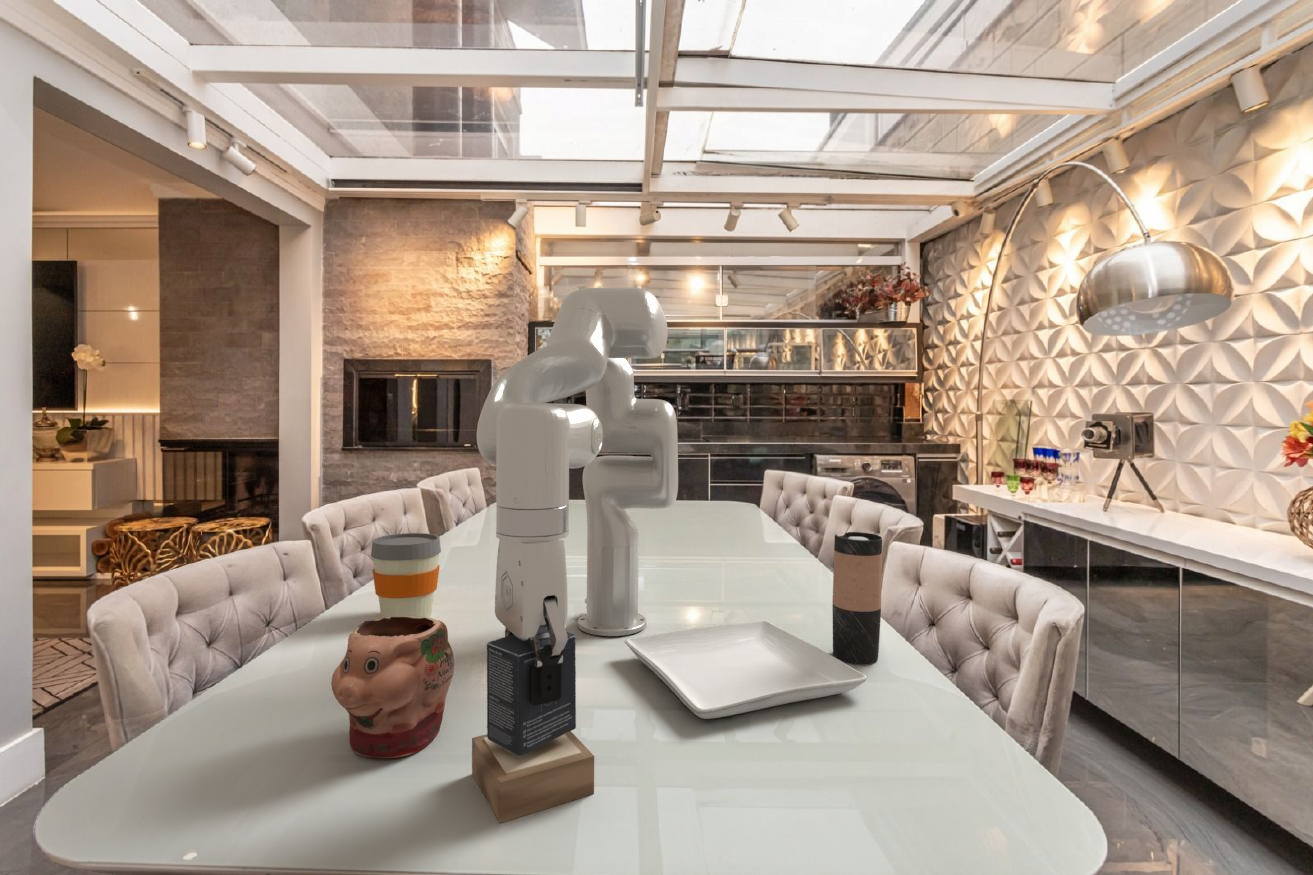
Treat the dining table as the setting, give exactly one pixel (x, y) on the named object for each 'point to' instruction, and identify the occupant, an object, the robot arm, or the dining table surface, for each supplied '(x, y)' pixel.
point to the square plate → (742, 667)
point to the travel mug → (857, 597)
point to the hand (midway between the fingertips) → (532, 686)
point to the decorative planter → (394, 684)
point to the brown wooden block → (532, 775)
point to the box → (526, 696)
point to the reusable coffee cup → (406, 573)
